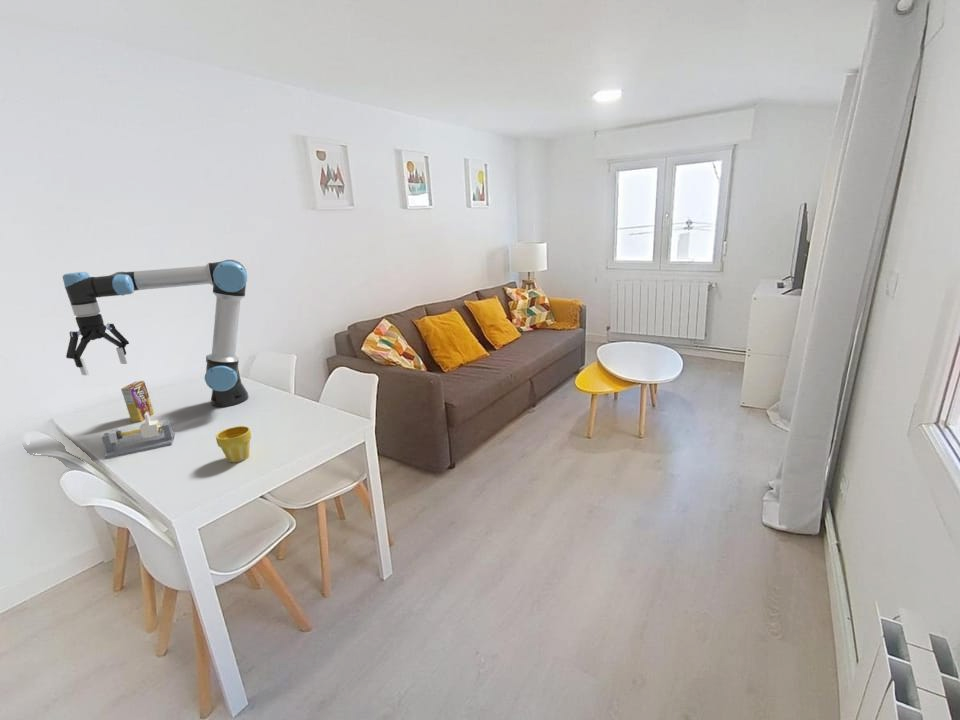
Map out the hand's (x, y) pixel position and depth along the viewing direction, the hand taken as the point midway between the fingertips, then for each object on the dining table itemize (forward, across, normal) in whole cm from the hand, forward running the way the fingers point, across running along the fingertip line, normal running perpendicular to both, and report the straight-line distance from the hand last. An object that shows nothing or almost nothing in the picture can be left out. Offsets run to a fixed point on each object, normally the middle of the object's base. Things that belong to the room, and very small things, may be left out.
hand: (105, 369), depth 175 cm
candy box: (+26, -11, -6) cm, 29 cm away
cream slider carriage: (+23, +4, +24) cm, 33 cm away
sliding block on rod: (+26, +7, +21) cm, 35 cm away
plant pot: (+27, +3, +65) cm, 70 cm away
